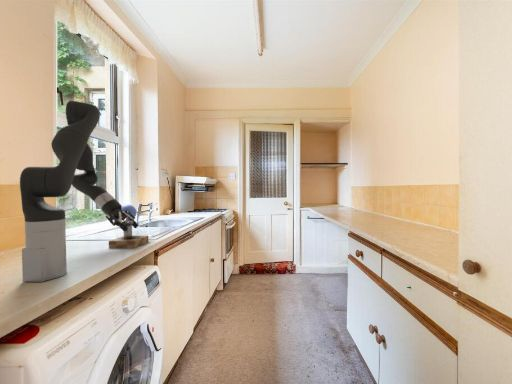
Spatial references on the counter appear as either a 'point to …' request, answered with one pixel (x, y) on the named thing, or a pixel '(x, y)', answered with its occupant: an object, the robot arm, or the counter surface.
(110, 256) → the counter surface
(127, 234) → the pin
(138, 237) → the hole block
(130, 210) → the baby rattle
